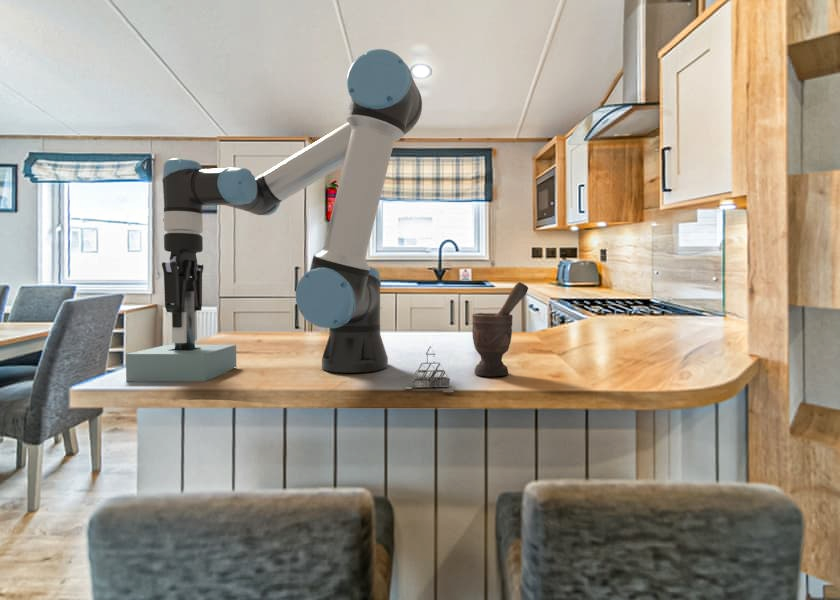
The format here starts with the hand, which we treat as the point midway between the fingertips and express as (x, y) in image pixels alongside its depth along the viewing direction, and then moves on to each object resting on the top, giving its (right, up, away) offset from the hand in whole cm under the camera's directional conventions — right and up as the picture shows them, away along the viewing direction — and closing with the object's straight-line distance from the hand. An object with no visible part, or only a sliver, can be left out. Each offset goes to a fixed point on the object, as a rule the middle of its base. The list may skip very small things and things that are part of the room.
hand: (185, 341), depth 106 cm
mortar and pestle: (+68, -7, -1) cm, 68 cm away
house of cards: (+53, -8, -13) cm, 55 cm away
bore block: (0, -7, 0) cm, 7 cm away
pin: (0, -3, 0) cm, 3 cm away
